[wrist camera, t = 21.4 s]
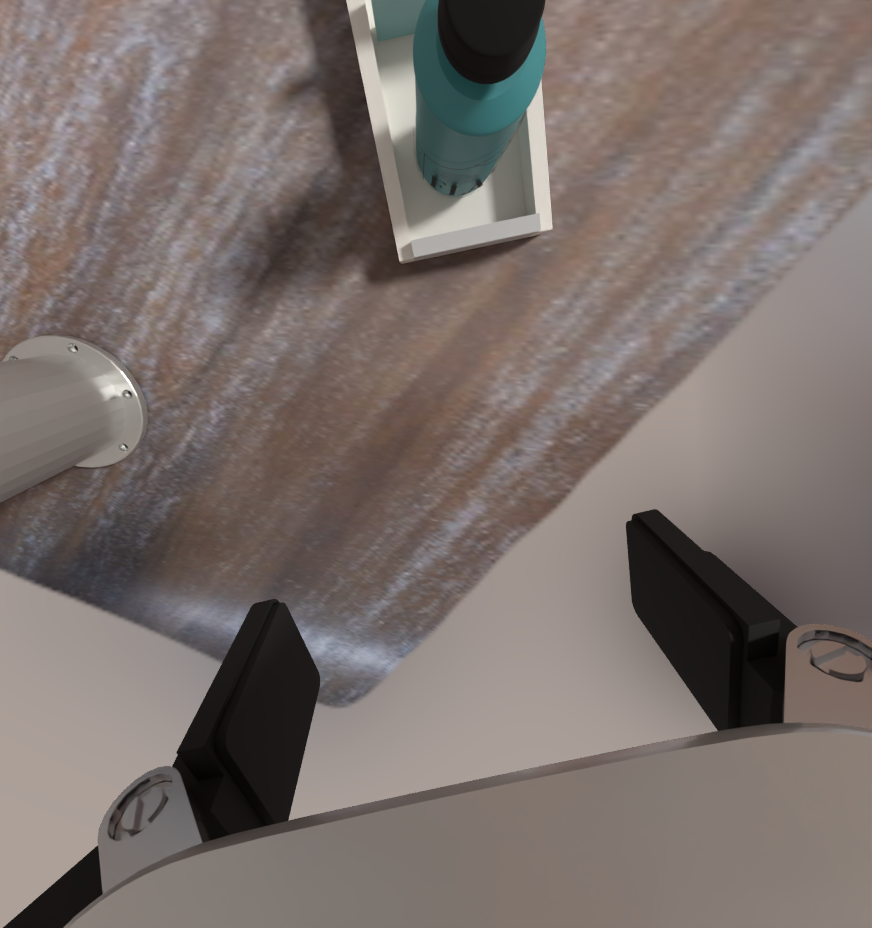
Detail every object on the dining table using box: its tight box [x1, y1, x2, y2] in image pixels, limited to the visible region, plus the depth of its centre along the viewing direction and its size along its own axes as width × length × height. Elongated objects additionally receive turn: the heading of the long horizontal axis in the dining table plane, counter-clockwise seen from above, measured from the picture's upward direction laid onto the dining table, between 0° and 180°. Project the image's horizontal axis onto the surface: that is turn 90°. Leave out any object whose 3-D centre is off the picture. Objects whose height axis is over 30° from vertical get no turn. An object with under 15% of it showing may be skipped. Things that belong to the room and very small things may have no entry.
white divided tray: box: [346, 0, 552, 264], centre depth 30 cm, size 12×26×4 cm, turn 11°
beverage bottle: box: [413, 0, 546, 198], centre depth 25 cm, size 6×7×20 cm
